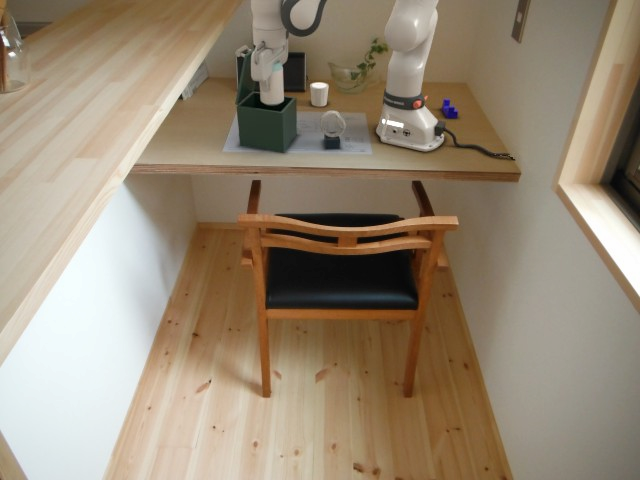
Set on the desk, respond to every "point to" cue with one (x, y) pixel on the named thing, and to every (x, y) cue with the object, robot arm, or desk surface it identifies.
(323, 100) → the white cup
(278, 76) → the can
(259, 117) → the trash can
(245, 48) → the lid
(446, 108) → the cable holder
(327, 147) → the watch
